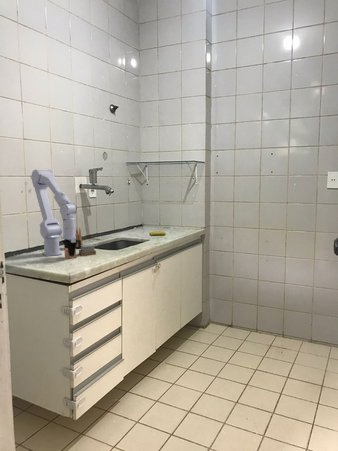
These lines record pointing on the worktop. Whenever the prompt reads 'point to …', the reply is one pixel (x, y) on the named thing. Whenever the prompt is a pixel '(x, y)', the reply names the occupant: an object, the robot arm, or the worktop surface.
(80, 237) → the ammunition clip
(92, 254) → the walnut slab
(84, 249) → the grey slab
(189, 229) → the worktop surface
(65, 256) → the terracotta cube
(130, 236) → the worktop surface
